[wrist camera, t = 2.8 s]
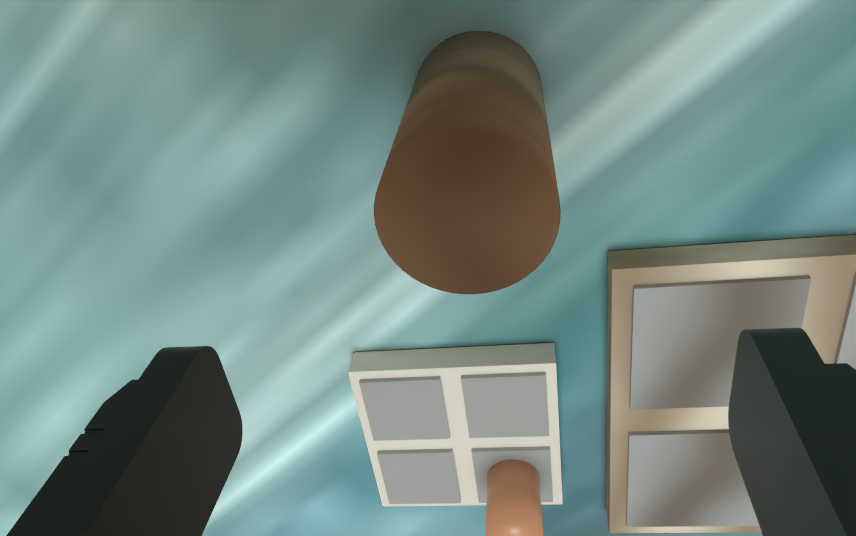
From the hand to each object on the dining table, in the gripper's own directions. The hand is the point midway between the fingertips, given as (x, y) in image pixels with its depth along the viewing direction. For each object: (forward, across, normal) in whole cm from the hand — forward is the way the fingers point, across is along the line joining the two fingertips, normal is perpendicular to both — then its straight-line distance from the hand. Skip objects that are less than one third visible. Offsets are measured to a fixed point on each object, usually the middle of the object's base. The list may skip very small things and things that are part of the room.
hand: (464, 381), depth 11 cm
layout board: (+13, -11, +13) cm, 21 cm away
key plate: (+13, +2, +14) cm, 19 cm away
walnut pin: (+13, 0, 0) cm, 13 cm away
